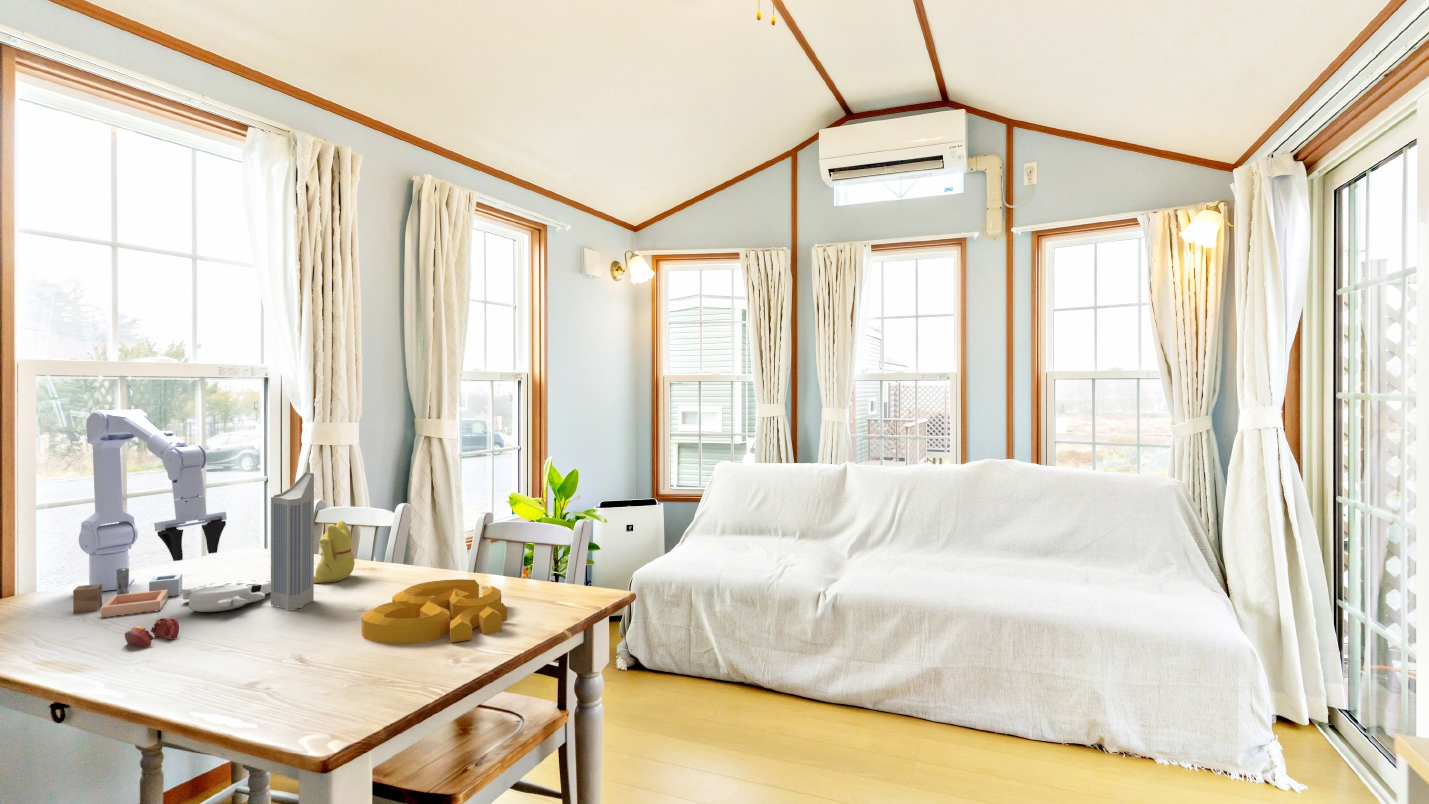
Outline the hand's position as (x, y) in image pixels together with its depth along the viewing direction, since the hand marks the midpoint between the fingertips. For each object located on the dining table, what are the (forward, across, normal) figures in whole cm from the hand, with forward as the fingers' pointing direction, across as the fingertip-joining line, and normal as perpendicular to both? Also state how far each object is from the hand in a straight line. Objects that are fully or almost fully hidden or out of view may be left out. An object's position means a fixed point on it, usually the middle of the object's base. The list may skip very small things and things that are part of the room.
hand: (195, 556), depth 160 cm
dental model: (+14, -19, -16) cm, 28 cm away
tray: (+9, -8, +9) cm, 15 cm away
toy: (+12, +2, -5) cm, 13 cm away
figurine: (+13, +26, -11) cm, 31 cm away
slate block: (+8, +1, +14) cm, 16 cm away
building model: (+14, +7, -19) cm, 25 cm away
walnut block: (+8, -12, +18) cm, 23 cm away
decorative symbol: (+21, +12, -59) cm, 63 cm away
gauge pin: (+8, -5, +19) cm, 21 cm away
